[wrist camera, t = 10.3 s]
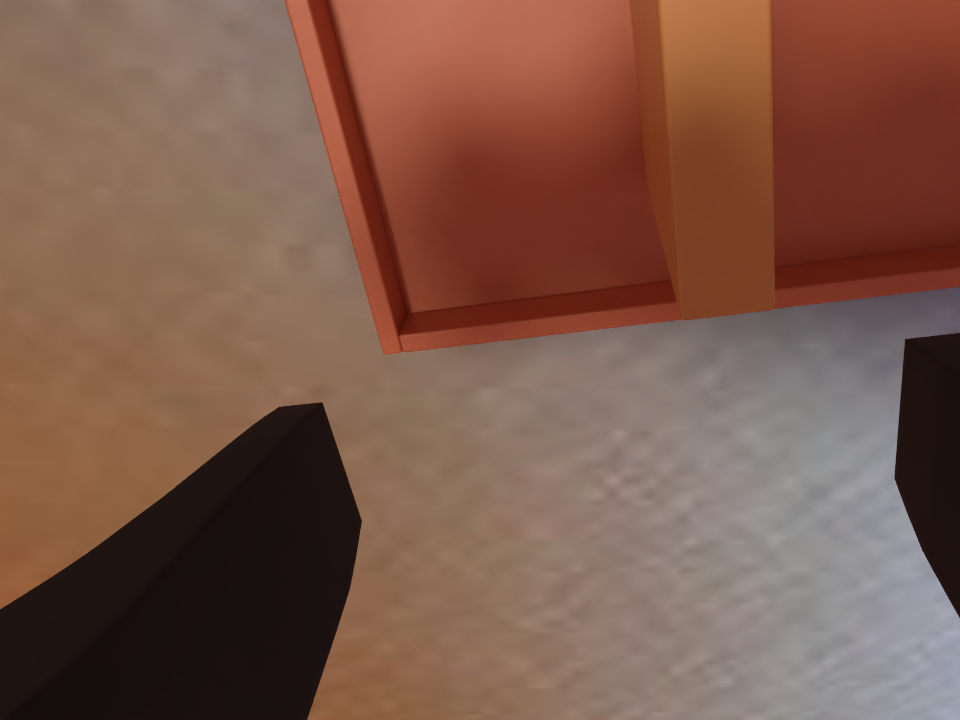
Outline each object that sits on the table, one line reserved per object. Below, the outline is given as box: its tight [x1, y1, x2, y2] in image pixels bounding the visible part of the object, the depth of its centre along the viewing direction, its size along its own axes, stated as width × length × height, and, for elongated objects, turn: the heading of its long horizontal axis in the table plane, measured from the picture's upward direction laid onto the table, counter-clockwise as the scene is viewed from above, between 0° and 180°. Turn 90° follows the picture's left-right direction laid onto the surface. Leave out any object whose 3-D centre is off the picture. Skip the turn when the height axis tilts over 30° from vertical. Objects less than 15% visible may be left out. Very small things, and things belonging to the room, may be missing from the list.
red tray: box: [285, 0, 960, 354], centre depth 17 cm, size 15×12×2 cm
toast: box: [630, 0, 775, 320], centre depth 14 cm, size 1×6×7 cm, turn 11°
